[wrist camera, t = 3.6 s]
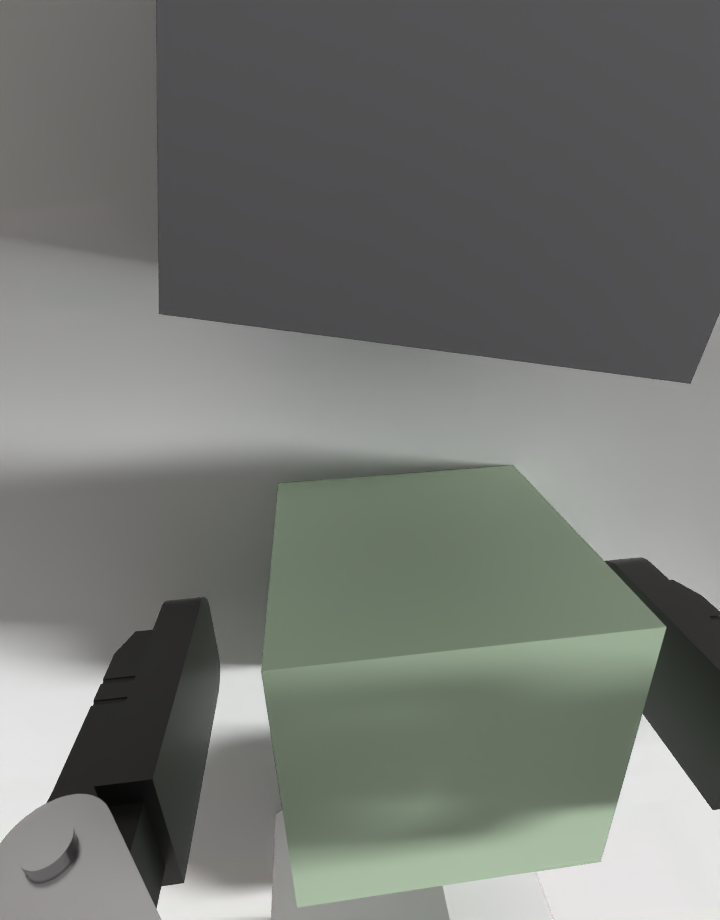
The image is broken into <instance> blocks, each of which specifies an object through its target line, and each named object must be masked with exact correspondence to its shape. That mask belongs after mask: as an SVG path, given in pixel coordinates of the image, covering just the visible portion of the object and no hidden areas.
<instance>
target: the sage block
mask: <svg viewBox="0 0 720 920" xmlns="http://www.w3.org/2000/svg"><path fill="white" fill-rule="evenodd" d="M665 631H666V626H665V625H664V624H663V623H662V622H661V621H660V620H659V618H658V617H657V616H656V615H655V614H654V613H653V612H652V611H651V610H650V609H649V608H648V607H647V606H646V605H645V604H644V603H643V602H642V601H641V600H640V598H639V597H638V596H637V595H636V594H635V593H634V592H633V591H632V590H631V589H630V588H629V587H628V586H627V585H626V584H625V583H624V582H623V581H622V579H621V578H620V577H619V576H618V575H617V574H616V573H615V572H614V571H613V570H612V569H611V568H610V567H609V566H608V565H607V564H606V563H605V562H604V560H603V559H602V558H601V557H600V556H599V555H598V554H597V553H596V552H595V551H594V550H593V549H592V548H591V547H590V546H589V545H588V544H587V543H586V542H585V540H584V539H583V538H582V537H581V536H580V535H579V534H578V533H577V532H576V531H575V530H574V529H573V528H572V527H571V526H570V525H569V524H568V523H567V521H566V520H565V519H564V518H563V517H562V516H561V515H560V514H559V513H558V512H557V511H556V510H555V509H554V508H553V507H552V506H551V505H550V504H549V502H548V501H547V500H546V499H545V498H544V497H543V496H542V495H541V494H540V493H539V492H538V491H537V490H536V489H535V488H534V487H533V486H532V485H531V484H530V482H529V481H528V480H527V479H526V478H525V477H524V476H523V475H522V474H521V473H520V472H519V471H518V470H517V469H516V468H515V467H514V466H513V465H508V466H495V467H482V468H469V469H456V470H443V471H430V472H417V473H404V474H391V475H378V476H365V477H352V478H339V479H326V480H313V481H300V482H287V483H278V492H277V503H276V514H275V525H274V536H273V547H272V558H271V569H270V580H269V591H268V602H267V613H266V624H265V635H264V646H263V657H262V668H261V673H262V680H263V686H264V693H265V699H266V706H267V712H268V719H269V726H270V732H271V739H272V745H273V752H274V758H275V765H276V772H277V778H278V785H279V791H280V798H281V804H282V811H283V818H284V824H285V831H286V837H287V844H288V850H289V857H290V863H291V870H292V877H293V883H294V890H295V896H296V903H297V908H298V907H304V906H311V905H318V904H324V903H331V902H337V901H344V900H351V899H357V898H364V897H371V896H377V895H384V894H391V893H397V892H404V891H410V890H417V889H424V888H430V887H437V886H444V885H450V884H457V883H463V882H470V881H477V880H483V879H490V878H497V877H503V876H510V875H516V874H523V873H530V872H536V871H543V870H550V869H556V868H563V867H569V866H576V865H583V864H589V863H596V862H601V859H602V855H603V852H604V848H605V845H606V841H607V838H608V834H609V830H610V827H611V823H612V820H613V816H614V813H615V809H616V806H617V802H618V798H619V795H620V791H621V788H622V784H623V781H624V777H625V773H626V770H627V766H628V763H629V759H630V756H631V752H632V748H633V745H634V741H635V738H636V734H637V731H638V727H639V723H640V720H641V716H642V713H643V709H644V706H645V702H646V699H647V695H648V691H649V688H650V684H651V681H652V677H653V674H654V670H655V666H656V663H657V659H658V656H659V652H660V649H661V645H662V641H663V638H664V634H665Z"/></svg>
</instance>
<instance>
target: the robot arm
mask: <svg viewBox="0 0 720 920" xmlns="http://www.w3.org/2000/svg"><path fill="white" fill-rule="evenodd" d="M604 562H605V563H606V564H607V565H608V566H609V567H610V568H611V569H612V570H613V571H614V572H615V573H616V574H617V575H618V576H619V577H620V578H621V579H622V581H623V582H624V583H625V584H626V585H627V586H628V587H629V588H630V589H631V590H632V591H633V592H634V593H635V594H636V595H637V596H638V597H639V598H640V600H641V601H642V602H643V603H644V604H645V605H646V606H647V607H648V608H649V609H650V610H651V611H652V612H653V613H654V614H655V615H656V616H657V617H658V618H659V620H660V621H661V622H662V623H663V624H664V625H665V626H666V631H665V634H664V638H663V641H662V645H661V649H660V652H659V656H658V659H657V663H656V666H655V670H654V674H653V677H652V681H651V684H650V688H649V691H648V695H647V699H646V702H645V706H644V709H643V715H644V716H645V717H646V719H647V720H648V722H649V723H650V724H651V726H652V727H653V728H654V730H655V731H656V733H657V734H658V735H659V737H660V738H661V739H662V741H663V742H664V744H665V745H666V746H667V748H668V749H669V750H670V752H671V753H672V755H673V756H674V757H675V759H676V760H677V761H678V763H679V764H680V766H681V767H682V768H683V770H684V771H685V772H686V774H687V775H688V777H689V778H690V779H691V781H692V782H693V783H694V785H695V786H696V788H697V789H698V790H699V792H700V793H701V795H702V796H703V797H704V799H705V800H706V801H707V803H708V804H709V806H710V807H711V808H712V810H717V809H720V611H718V610H717V609H716V608H715V607H714V606H713V605H712V604H710V603H709V602H708V601H707V600H706V599H705V598H704V597H702V596H701V595H700V594H698V593H696V592H694V591H692V590H690V589H689V588H687V587H685V586H683V585H681V584H680V583H678V582H676V581H674V580H669V579H668V578H667V577H666V576H664V575H663V574H662V573H661V572H660V571H659V570H658V569H657V568H656V567H655V566H654V565H652V564H651V563H650V562H649V561H648V560H646V559H644V558H630V559H620V560H609V561H604ZM219 683H220V662H219V655H218V649H217V644H216V639H215V634H214V628H213V623H212V618H211V613H210V607H209V603H208V600H207V599H206V598H205V597H202V598H191V599H180V600H170V601H165V602H164V604H163V605H162V608H161V610H160V613H159V615H158V618H157V621H156V623H155V626H154V629H153V630H147V631H137V632H135V633H134V634H133V635H132V636H131V637H130V638H129V639H128V640H127V641H126V642H125V643H124V644H123V645H122V647H121V648H120V649H119V650H118V651H117V652H116V653H115V654H114V656H113V658H112V661H111V663H110V665H109V667H108V669H107V672H106V674H105V676H104V678H103V684H101V685H100V687H99V690H98V692H97V694H96V696H95V698H94V705H93V706H91V707H90V710H89V712H88V714H87V716H86V718H85V721H84V723H83V725H82V727H81V730H80V732H79V734H78V736H77V738H76V741H75V743H74V745H73V747H72V750H71V752H70V754H69V756H68V758H67V761H66V763H65V765H64V767H63V770H62V772H61V774H60V776H59V778H58V781H57V783H56V785H55V787H54V790H53V792H52V794H51V796H50V798H49V799H48V801H47V803H46V804H44V805H43V806H41V807H39V808H37V809H36V810H34V811H33V812H32V813H30V814H29V815H27V816H26V817H25V818H24V819H23V820H21V821H20V822H19V823H18V824H17V825H16V826H15V827H14V828H13V829H12V830H11V831H10V832H9V833H8V834H7V835H6V837H5V838H4V839H3V840H2V842H1V843H0V920H161V918H160V916H159V914H158V911H157V909H156V908H157V904H158V899H159V894H160V890H161V886H166V885H173V884H180V883H184V880H185V874H186V869H187V863H188V858H189V852H190V847H191V841H192V836H193V830H194V824H195V819H196V813H197V808H198V802H199V797H200V791H201V786H202V780H203V775H204V769H205V764H206V758H207V753H208V747H209V742H210V736H211V730H212V725H213V719H214V714H215V708H216V703H217V697H218V692H219Z"/></svg>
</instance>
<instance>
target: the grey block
mask: <svg viewBox="0 0 720 920" xmlns="http://www.w3.org/2000/svg"><path fill="white" fill-rule="evenodd" d="M271 920H554V918H553V915H552V912H551V910H550V907H549V904H548V902H547V899H546V896H545V894H544V891H543V888H542V886H541V883H540V880H539V878H538V875H537V872H530V873H523V874H516V875H510V876H503V877H497V878H490V879H483V880H477V881H470V882H463V883H457V884H450V885H444V886H437V887H430V888H424V889H417V890H410V891H404V892H397V893H391V894H384V895H377V896H371V897H364V898H357V899H351V900H344V901H337V902H331V903H324V904H318V905H311V906H304V907H298V908H297V903H296V896H295V890H294V883H293V877H292V870H291V863H290V857H289V850H288V844H287V837H286V831H285V824H284V818H283V811H282V810H281V811H280V812H279V813H277V814H276V818H275V841H274V864H273V887H272V909H271Z"/></svg>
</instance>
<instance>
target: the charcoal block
mask: <svg viewBox="0 0 720 920" xmlns="http://www.w3.org/2000/svg"><path fill="white" fill-rule="evenodd" d="M156 39H157V149H158V259H159V314H163V315H171V316H178V317H186V318H193V319H201V320H209V321H216V322H224V323H232V324H239V325H247V326H255V327H262V328H270V329H277V330H285V331H293V332H300V333H308V334H316V335H323V336H331V337H339V338H346V339H354V340H361V341H369V342H377V343H384V344H392V345H400V346H407V347H415V348H423V349H430V350H438V351H445V352H453V353H461V354H468V355H476V356H484V357H491V358H499V359H506V360H514V361H522V362H529V363H537V364H545V365H552V366H560V367H568V368H575V369H583V370H590V371H598V372H606V373H613V374H621V375H629V376H636V377H644V378H652V379H659V380H667V381H674V382H682V383H691V381H692V378H693V376H694V374H695V371H696V369H697V366H698V364H699V362H700V359H701V357H702V354H703V352H704V349H705V347H706V345H707V342H708V340H709V337H710V335H711V333H712V330H713V328H714V325H715V323H716V320H717V318H718V316H719V313H720V0H156Z"/></svg>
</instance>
